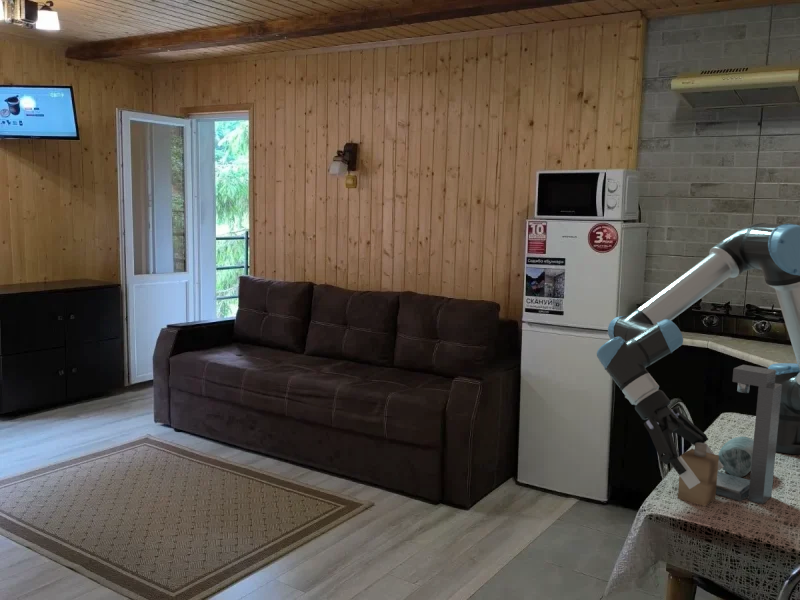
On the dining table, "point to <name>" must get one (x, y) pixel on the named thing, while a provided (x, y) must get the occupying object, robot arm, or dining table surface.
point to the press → (757, 437)
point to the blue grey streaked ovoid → (737, 456)
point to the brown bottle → (700, 475)
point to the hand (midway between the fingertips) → (707, 477)
